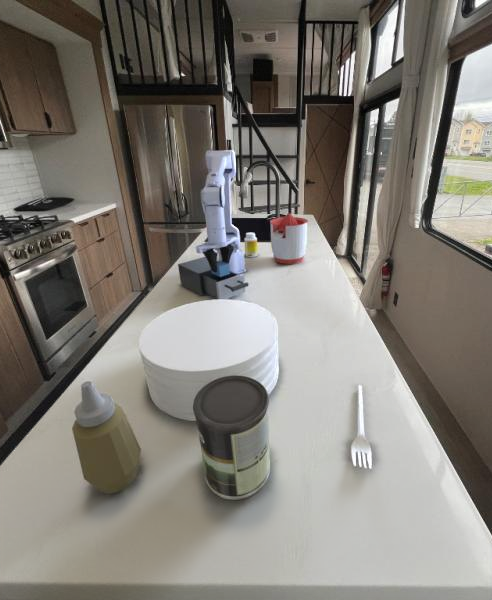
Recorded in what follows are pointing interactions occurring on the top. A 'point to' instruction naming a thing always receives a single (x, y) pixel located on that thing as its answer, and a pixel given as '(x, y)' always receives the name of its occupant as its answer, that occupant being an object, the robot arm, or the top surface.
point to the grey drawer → (223, 285)
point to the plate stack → (206, 350)
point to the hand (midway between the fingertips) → (220, 269)
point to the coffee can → (233, 435)
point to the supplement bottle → (250, 245)
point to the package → (222, 269)
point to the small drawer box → (194, 274)
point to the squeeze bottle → (105, 442)
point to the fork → (361, 437)
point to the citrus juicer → (288, 239)
